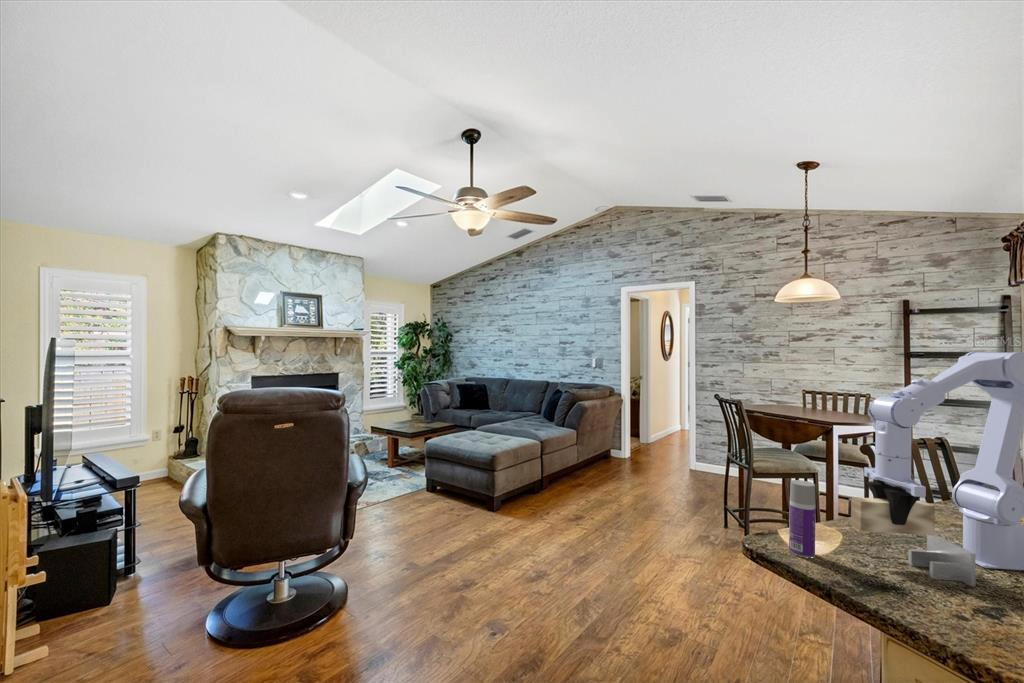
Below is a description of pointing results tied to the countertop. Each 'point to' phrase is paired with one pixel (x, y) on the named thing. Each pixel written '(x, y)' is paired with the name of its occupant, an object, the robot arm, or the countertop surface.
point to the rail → (878, 519)
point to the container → (802, 518)
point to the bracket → (945, 560)
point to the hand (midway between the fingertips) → (892, 521)
